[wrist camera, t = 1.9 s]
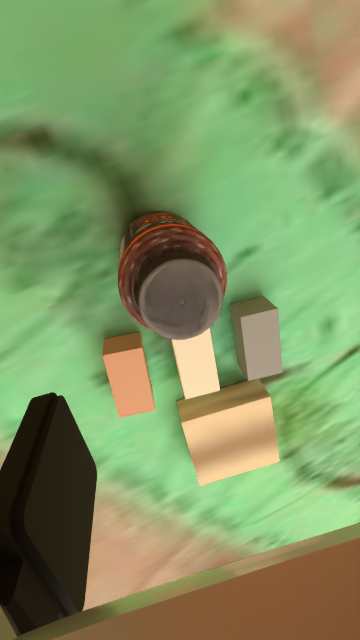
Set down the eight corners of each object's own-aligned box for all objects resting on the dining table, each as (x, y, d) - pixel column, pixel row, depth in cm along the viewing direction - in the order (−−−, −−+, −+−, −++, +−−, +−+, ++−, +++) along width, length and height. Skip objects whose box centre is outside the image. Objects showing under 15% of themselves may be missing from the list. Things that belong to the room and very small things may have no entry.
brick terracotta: (104, 337, 28) (102, 355, 25) (140, 330, 28) (142, 347, 25) (119, 396, 30) (119, 417, 28) (152, 389, 31) (155, 410, 28)
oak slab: (176, 401, 31) (181, 422, 29) (257, 377, 32) (270, 396, 29) (193, 461, 35) (199, 485, 32) (267, 439, 35) (279, 461, 32)
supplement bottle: (194, 204, 25) (246, 227, 14) (200, 282, 27) (248, 348, 17) (112, 214, 24) (105, 245, 14) (126, 293, 26) (129, 369, 16)
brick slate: (229, 303, 28) (240, 317, 26) (262, 295, 29) (277, 308, 26) (237, 362, 31) (248, 381, 28) (268, 354, 31) (282, 372, 28)
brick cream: (166, 321, 28) (171, 337, 25) (201, 312, 28) (209, 327, 26) (179, 379, 31) (185, 399, 28) (211, 371, 31) (220, 390, 28)
